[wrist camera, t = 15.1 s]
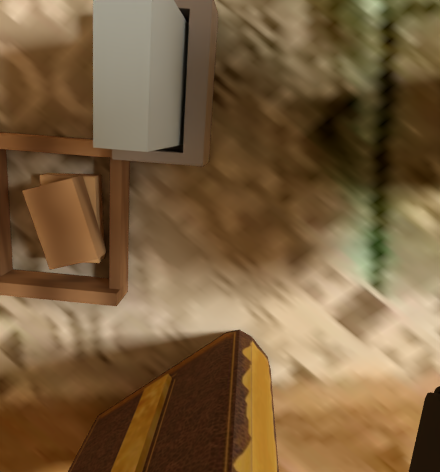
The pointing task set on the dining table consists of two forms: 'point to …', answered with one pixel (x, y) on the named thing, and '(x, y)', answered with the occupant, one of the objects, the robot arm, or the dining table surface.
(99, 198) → the offcut low
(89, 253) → the offcut top
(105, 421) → the book
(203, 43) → the holder
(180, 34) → the panel
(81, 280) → the square wooden tray
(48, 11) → the dining table surface
